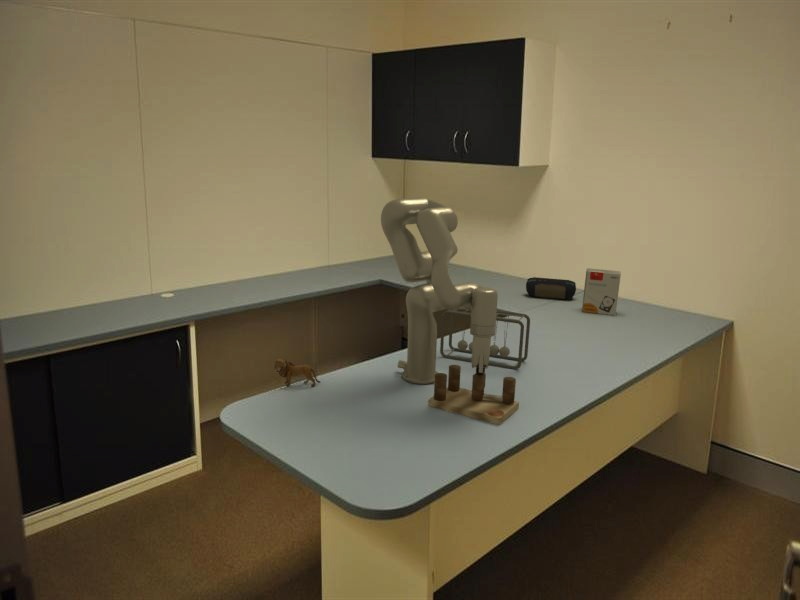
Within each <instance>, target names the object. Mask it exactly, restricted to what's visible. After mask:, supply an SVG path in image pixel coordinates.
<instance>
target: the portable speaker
mask: <svg viewBox="0 0 800 600" xmlns="http://www.w3.org/2000/svg"><path fill="white" fill-rule="evenodd" d="M525 290H526V293H527V294H528V295H527V296H530V297H536V298H544V299H545V298H547V299H555V298H556V299H557V300H566V299H567V300H572V299H573V298H574V296H575V295H576V292H577V285H576V282H575V281H573V280H570V279H563V278H562V279H561V278H548V277H547V278H546V277H536V276H534V277H529V278H527V281H526V283H525Z"/></svg>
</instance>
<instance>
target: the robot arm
mask: <svg viewBox="0 0 800 600" xmlns="http://www.w3.org/2000/svg"><path fill="white" fill-rule="evenodd" d="M380 213H381V214H380V225H381V228H382V231H383V234H384V235H385V237H386V240H387V242H388V243H389V246H390V248H391V251H392V254H393V256H394V261H395V262H396V266H397V268H398V271H399V273H400V276H401V278H402V279H403V281H405V282H406V283H409V284H410V283H418V282H424V281H425V282H426V283H422V284H418V285H414V286H413V287H412V288H410V289H409V290H408V292H407V293H406V296H405V305H406V311H407V352H406V353H407V356H406V358H407V360H402V359H399V360H398V362H397V368H399V369H403V372H401V373H402V374H401V377H402V379H403V380H404V381H406V382H408V383H412V384H416V385H417V384H419V385H428V384H434V383H435V374H436V373H439V372H438V371H436V370H437V369H436V366H437V365H436V364H437V346H438V344H437V343H438V342H437V341H438V324H437V321H436V318H435V316H434V313H435V312H439V311H443V310H446V311H459V310H465V309H464V308H470V307H471V310H470V313H471V317H470V326H469V327H470V328H469V334H470V335H471V336H472V342H473V344H472V353H471V359H472V362H471V368H472V369H474V368H475V373H474V374H482V375H484V376H485V379H486V377H487V376H486V375H487V374H486V370H487V369H488V366H489V365H488V363H489V362H490V356H489V355H490V346H492V344H491V342H492V337H495V336H496V327H497V321H496V317H497V310H498V296H499V294H498V292H497V290H496V289H495V288H492V287H485V286H482V285H480V284H478V283H476V282H472V281H471V282H464V283H457V284H454V283H453V281H452V279H451V277H450V274H449V273H450V272H449V264H450V260H452V259H453V258H454V257H455V256H456V255H457V253H458V250H459V249H458V246H457V244H456V242H455V240H454V239H453V236H452V234H451V233H453V232H455V230H456V229H457V227H458V222H459V221H458V220H459V218H458V217H457V214H456V212H455V211H454V210H453V209H452V208H451V207H449V206H447V205H444V204H442V203H439V202H437V201H435V200H432V199H430V198H427V197H426V198H425V197H404V198H397V199H393V200H390V201H388V202H387V203H385V205H384V206H383V208H382V210H381V212H380ZM407 225H416V227H417V230H418V233H419V234H420V236H421V238H422V241H423V243H424V244H425V247H426V249H427V250H426V251H422V250H421V249H420V247H419V245H418V242H417V239H416V237H415V235H414V234H413V233H412V232H411V231H410V230H409V229H408V228H407ZM485 387H486V383H485V384H484V389H485Z"/></svg>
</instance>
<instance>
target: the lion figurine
mask: <svg viewBox="0 0 800 600" xmlns="http://www.w3.org/2000/svg"><path fill="white" fill-rule="evenodd" d="M273 371H274V372H275V374H278V375H279V377H281V378H285V379H286V380H285V382H284V384H285V387H287V388H289V387H291V384H292V383H291V379H292V377H294V378H296V377H301V376H303V375H304V376H305V377H306V380H304V381H303V383H304V384H308V383H309V381H310V382H311V383H312V384H311V385H310V386H311V387H312V388H313V387H315V386H316V383H317V384H319V383H321V381H320V380H319V379H317V376H316V372H315V370H314V368H313V367H312V366H311V365H309V364H300V365H296V364H294V363H292V362H291V361H288V360H287V359H284V358H277V359H276V360H274V361H273ZM312 375H313V376H312Z"/></svg>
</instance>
